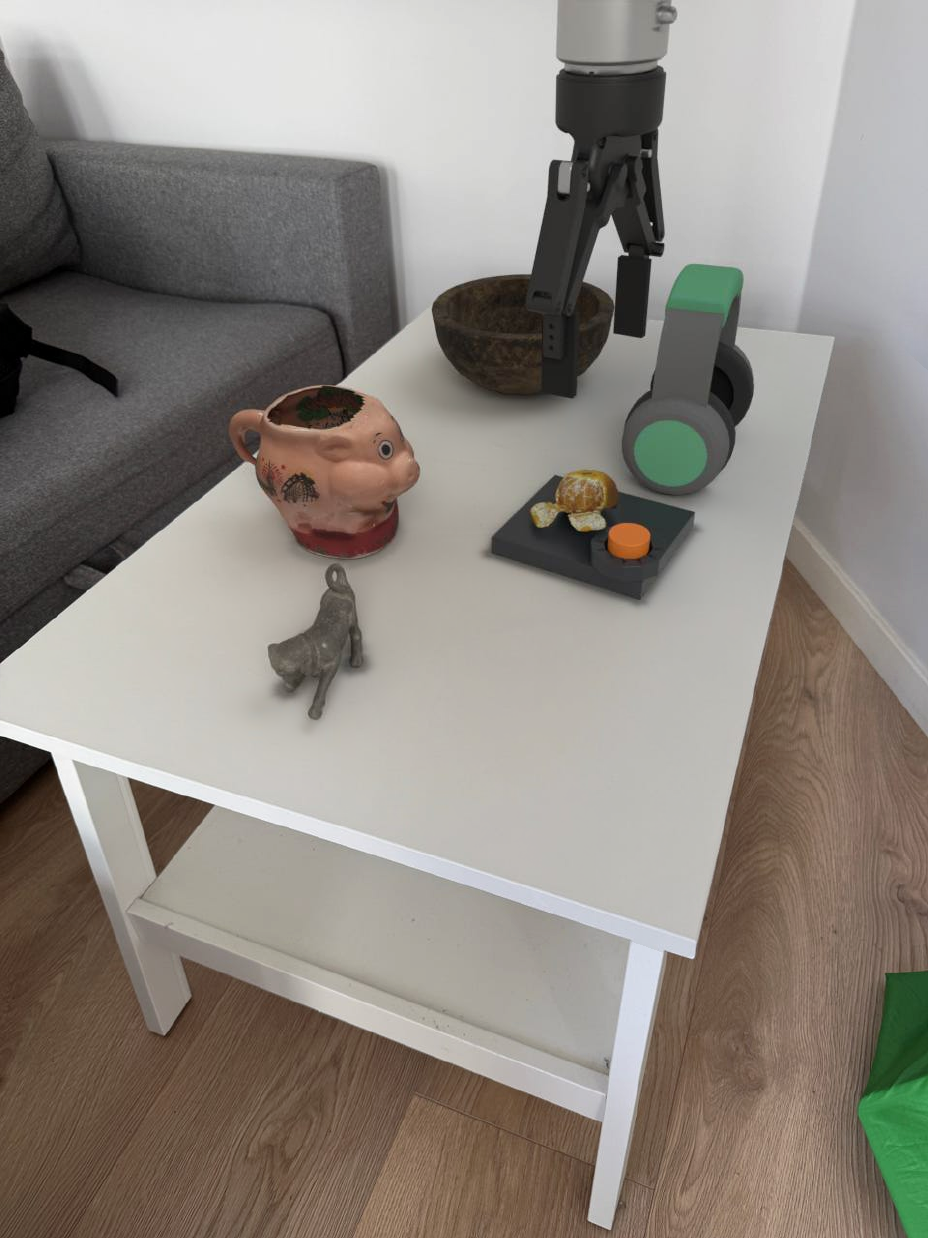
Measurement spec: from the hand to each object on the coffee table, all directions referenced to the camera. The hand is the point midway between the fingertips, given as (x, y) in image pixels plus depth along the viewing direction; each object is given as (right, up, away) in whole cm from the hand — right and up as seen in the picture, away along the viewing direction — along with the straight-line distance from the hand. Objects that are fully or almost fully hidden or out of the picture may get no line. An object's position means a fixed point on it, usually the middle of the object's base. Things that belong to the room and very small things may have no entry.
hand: (596, 362), depth 76 cm
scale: (+1, -14, +12) cm, 18 cm away
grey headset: (+13, -4, +23) cm, 27 cm away
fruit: (-1, -12, +10) cm, 16 cm away
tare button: (+4, -15, +5) cm, 16 cm away
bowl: (-4, +8, +40) cm, 41 cm away
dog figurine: (-23, -26, -2) cm, 34 cm away
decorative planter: (-24, -13, +14) cm, 31 cm away
